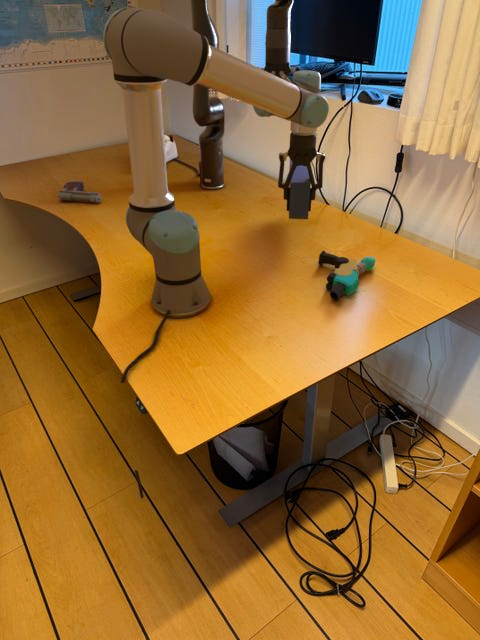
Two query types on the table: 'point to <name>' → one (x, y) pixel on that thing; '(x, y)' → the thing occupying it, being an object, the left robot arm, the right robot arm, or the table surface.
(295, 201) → the box
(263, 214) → the table surface
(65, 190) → the toy gun
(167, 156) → the sneaker
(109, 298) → the table surface
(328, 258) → the toy gun
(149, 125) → the left robot arm
